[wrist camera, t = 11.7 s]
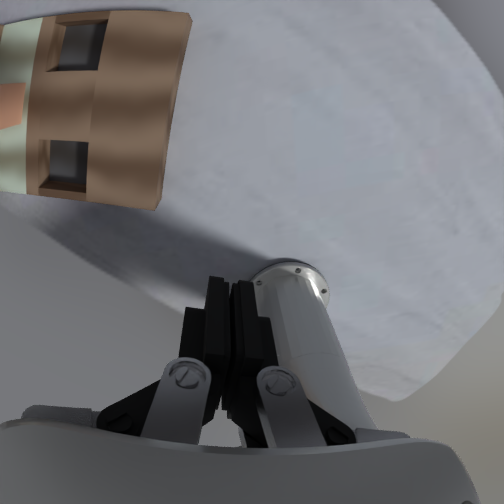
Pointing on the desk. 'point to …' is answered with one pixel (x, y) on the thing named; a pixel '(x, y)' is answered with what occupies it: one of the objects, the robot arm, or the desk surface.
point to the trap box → (92, 104)
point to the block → (11, 104)
